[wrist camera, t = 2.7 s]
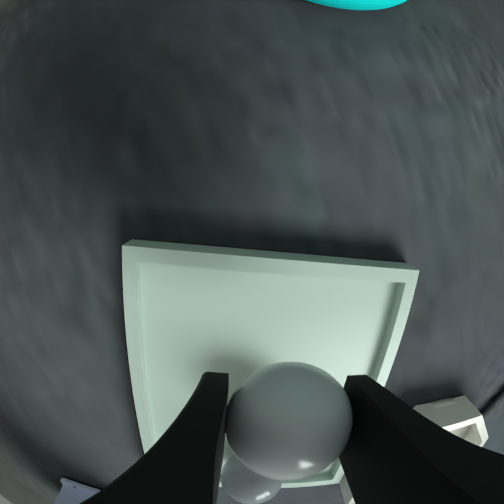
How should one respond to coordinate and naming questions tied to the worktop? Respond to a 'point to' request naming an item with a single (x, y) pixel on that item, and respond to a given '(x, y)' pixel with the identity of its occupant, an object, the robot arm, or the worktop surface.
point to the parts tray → (253, 322)
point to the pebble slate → (247, 483)
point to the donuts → (359, 4)
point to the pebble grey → (288, 421)
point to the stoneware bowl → (445, 426)
